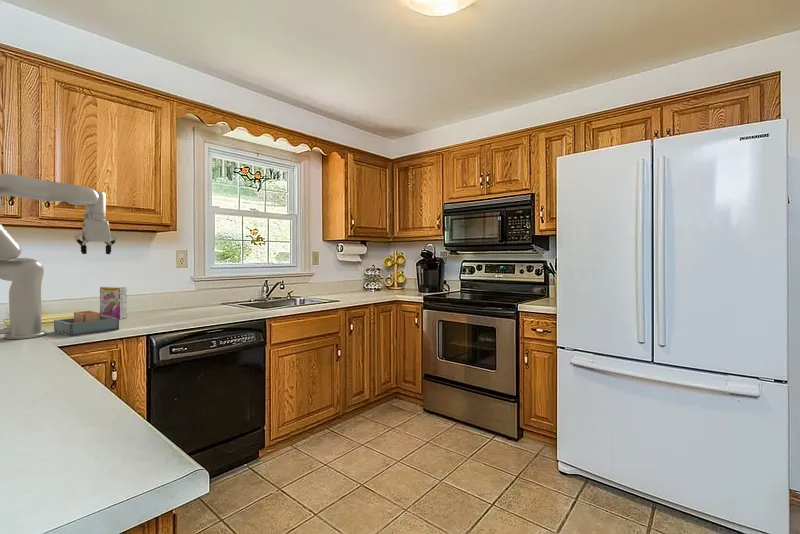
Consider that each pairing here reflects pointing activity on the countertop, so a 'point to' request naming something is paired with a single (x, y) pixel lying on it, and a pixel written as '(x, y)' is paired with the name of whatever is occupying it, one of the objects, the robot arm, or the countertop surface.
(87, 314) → the box
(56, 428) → the countertop surface
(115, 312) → the candy bar box
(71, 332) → the dark grey tray
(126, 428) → the countertop surface
